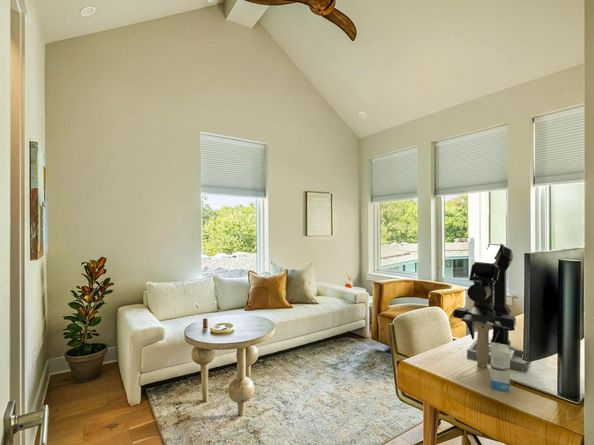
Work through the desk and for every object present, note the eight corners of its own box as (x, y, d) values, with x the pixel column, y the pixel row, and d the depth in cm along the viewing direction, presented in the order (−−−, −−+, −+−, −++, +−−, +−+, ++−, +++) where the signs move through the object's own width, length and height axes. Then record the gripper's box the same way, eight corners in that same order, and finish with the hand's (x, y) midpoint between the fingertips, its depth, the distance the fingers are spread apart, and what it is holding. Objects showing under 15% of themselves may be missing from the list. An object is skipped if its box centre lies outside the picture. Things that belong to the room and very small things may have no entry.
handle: (492, 370, 114) (493, 326, 114) (471, 365, 117) (472, 323, 117) (492, 365, 118) (494, 322, 118) (472, 361, 122) (473, 319, 121)
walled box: (475, 346, 136) (475, 339, 136) (529, 358, 125) (529, 351, 125) (467, 356, 125) (467, 349, 125) (524, 371, 114) (525, 363, 114)
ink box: (509, 393, 99) (510, 353, 99) (490, 388, 102) (491, 350, 101) (507, 381, 107) (508, 344, 106) (489, 377, 109) (490, 341, 109)
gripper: (449, 296, 117) (448, 341, 117) (512, 306, 105) (510, 355, 106) (457, 291, 126) (456, 333, 126) (516, 300, 114) (515, 345, 114)
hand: (482, 341), depth 118 cm, fingers open, 6 cm apart
